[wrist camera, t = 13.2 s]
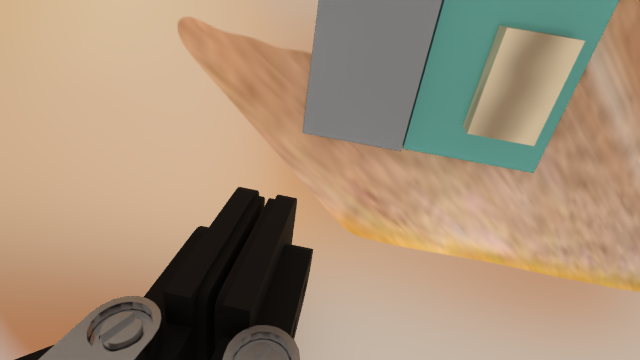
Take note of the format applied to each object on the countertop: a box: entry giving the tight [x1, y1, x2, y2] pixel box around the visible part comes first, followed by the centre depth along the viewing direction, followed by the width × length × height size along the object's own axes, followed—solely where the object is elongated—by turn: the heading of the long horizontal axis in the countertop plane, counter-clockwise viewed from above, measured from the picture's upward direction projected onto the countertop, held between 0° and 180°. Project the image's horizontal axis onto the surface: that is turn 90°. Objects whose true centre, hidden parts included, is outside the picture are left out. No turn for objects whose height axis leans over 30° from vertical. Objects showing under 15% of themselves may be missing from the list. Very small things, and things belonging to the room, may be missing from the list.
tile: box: [463, 25, 585, 146], centre depth 31 cm, size 6×9×2 cm, turn 172°
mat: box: [402, 0, 619, 173], centre depth 31 cm, size 13×18×1 cm
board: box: [303, 0, 442, 151], centre depth 32 cm, size 10×18×2 cm, turn 172°
